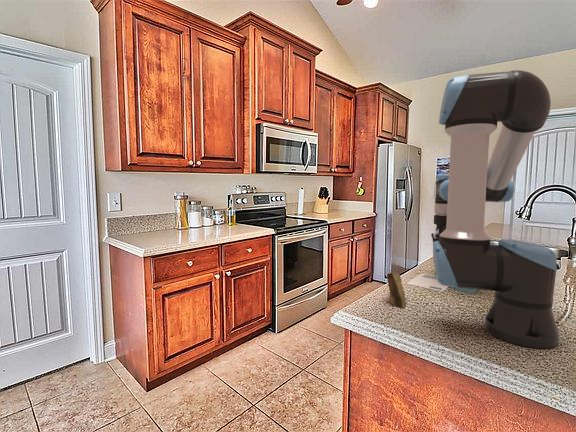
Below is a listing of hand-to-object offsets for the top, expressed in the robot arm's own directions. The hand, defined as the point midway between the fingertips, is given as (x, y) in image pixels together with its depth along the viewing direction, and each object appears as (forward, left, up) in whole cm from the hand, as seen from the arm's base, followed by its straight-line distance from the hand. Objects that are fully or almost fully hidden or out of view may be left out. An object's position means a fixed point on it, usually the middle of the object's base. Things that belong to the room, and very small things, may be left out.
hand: (441, 274), depth 127 cm
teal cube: (-5, -12, -2) cm, 13 cm away
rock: (-34, -6, -2) cm, 34 cm away
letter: (-7, 0, -2) cm, 7 cm away
